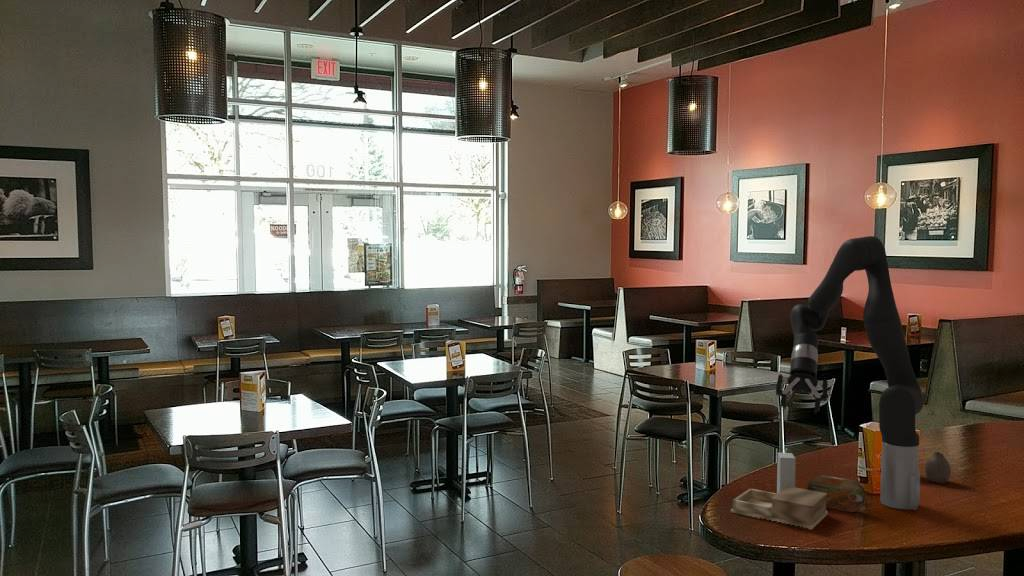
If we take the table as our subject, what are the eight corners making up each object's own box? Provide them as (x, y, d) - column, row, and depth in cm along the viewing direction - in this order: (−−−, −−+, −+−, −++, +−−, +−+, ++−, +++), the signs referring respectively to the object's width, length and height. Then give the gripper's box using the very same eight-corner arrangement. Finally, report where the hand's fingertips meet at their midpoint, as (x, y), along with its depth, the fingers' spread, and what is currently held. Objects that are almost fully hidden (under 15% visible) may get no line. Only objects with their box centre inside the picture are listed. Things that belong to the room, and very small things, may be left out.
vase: (926, 483, 229) (926, 454, 229) (923, 477, 235) (924, 449, 235) (952, 486, 226) (953, 457, 226) (948, 479, 233) (949, 451, 232)
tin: (806, 503, 212) (807, 473, 211) (810, 500, 214) (811, 471, 214) (863, 515, 202) (864, 484, 201) (867, 512, 204) (868, 481, 204)
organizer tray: (827, 514, 203) (827, 492, 202) (811, 529, 192) (812, 506, 191) (749, 498, 215) (750, 478, 215) (730, 512, 204) (731, 491, 204)
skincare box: (795, 500, 214) (796, 458, 213) (779, 499, 215) (780, 457, 214) (792, 493, 220) (792, 452, 219) (776, 492, 221) (777, 452, 220)
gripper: (779, 353, 231) (774, 400, 222) (830, 358, 226) (826, 406, 217) (779, 366, 237) (774, 412, 228) (828, 371, 231) (825, 418, 223)
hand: (799, 409), depth 223 cm, fingers open, 8 cm apart
